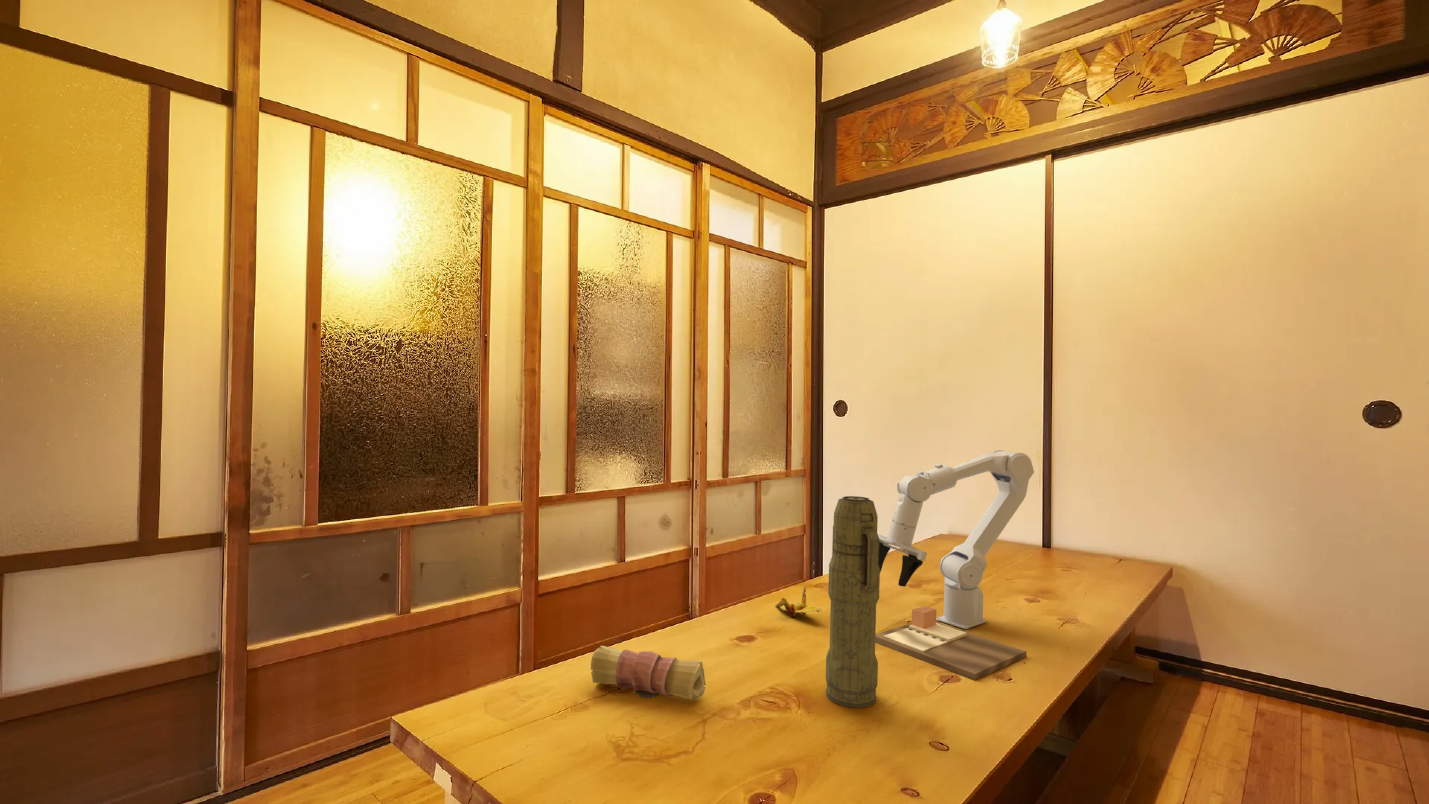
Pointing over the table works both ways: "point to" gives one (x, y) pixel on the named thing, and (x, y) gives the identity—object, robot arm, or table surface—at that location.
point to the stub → (933, 625)
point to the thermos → (853, 604)
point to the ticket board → (953, 651)
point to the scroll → (648, 673)
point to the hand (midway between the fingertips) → (888, 579)
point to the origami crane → (797, 606)
